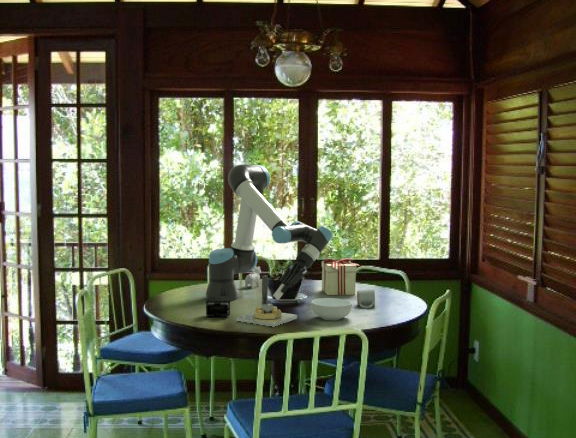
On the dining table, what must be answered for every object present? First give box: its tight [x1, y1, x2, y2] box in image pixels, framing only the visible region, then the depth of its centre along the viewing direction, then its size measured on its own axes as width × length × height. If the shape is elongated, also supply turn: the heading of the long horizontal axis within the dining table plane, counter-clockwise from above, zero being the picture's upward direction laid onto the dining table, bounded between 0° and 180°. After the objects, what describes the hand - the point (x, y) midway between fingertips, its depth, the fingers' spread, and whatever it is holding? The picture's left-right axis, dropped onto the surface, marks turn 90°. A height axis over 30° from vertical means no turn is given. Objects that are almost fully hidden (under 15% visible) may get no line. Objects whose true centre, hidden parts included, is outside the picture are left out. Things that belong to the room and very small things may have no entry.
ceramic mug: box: [356, 288, 376, 310], centre depth 306 cm, size 11×8×8 cm
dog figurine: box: [244, 265, 262, 290], centre depth 353 cm, size 5×13×11 cm, turn 157°
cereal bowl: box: [310, 297, 353, 321], centre depth 282 cm, size 17×17×7 cm
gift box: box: [321, 258, 361, 296], centre depth 337 cm, size 17×18×17 cm
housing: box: [236, 303, 298, 328], centre depth 278 cm, size 18×18×6 cm
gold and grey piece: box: [253, 275, 282, 319], centre depth 280 cm, size 16×11×15 cm
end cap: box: [205, 300, 231, 319], centre depth 284 cm, size 10×7×7 cm
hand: (275, 297), depth 290 cm, fingers closed
